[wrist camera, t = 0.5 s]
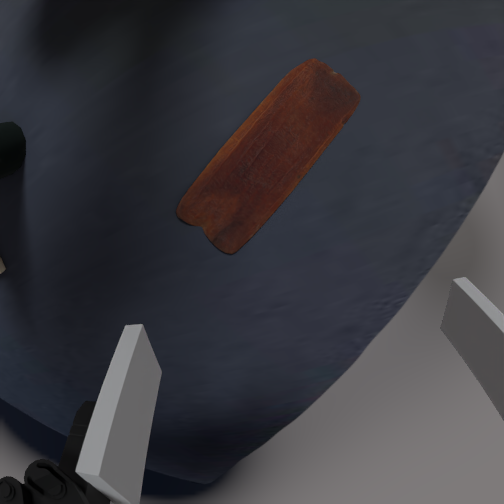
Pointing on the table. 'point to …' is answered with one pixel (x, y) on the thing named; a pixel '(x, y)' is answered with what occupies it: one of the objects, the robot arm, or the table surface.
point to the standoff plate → (2, 266)
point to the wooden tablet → (269, 155)
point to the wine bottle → (11, 148)
